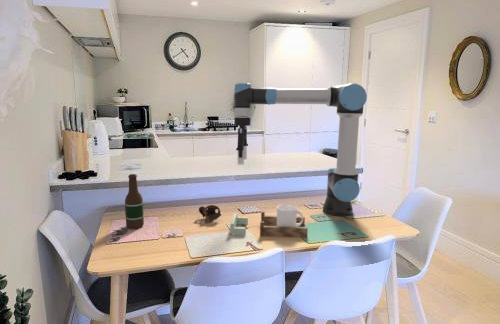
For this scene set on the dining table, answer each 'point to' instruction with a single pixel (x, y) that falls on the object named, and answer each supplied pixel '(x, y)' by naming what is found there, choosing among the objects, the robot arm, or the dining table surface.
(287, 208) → the mug
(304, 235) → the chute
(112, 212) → the dining table surface
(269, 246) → the dining table surface
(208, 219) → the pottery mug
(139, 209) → the beer bottle
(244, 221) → the end stop
